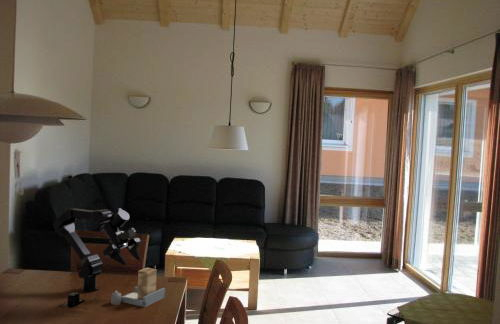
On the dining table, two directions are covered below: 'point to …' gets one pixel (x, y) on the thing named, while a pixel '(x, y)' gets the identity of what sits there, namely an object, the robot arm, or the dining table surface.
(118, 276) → the dining table surface
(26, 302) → the dining table surface
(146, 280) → the tan wooden block
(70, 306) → the black chunky block
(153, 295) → the bay
